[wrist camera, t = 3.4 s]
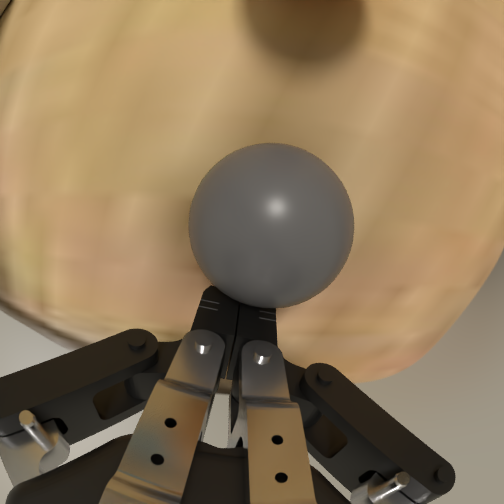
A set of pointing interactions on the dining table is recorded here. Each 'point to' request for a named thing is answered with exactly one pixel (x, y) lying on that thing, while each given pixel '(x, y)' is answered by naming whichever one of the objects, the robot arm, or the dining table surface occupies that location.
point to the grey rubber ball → (271, 225)
